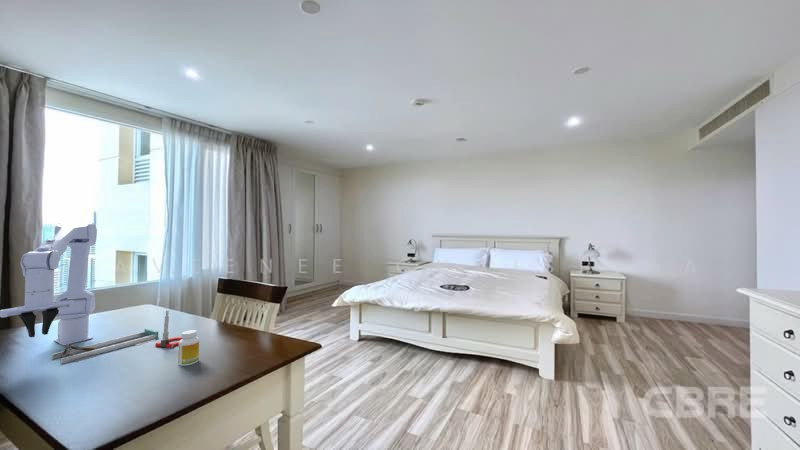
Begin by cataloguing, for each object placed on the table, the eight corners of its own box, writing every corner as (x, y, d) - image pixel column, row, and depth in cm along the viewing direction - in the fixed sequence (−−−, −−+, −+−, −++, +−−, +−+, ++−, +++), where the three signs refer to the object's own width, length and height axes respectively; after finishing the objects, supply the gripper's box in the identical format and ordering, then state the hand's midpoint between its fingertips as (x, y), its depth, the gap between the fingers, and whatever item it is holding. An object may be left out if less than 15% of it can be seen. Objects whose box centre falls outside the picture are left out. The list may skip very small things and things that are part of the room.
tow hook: (175, 339, 119) (152, 347, 109) (177, 305, 119) (155, 310, 110) (194, 340, 117) (173, 349, 108) (196, 306, 118) (175, 311, 109)
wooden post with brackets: (55, 356, 98) (64, 342, 100) (87, 359, 104) (95, 346, 105) (55, 358, 97) (64, 343, 99) (88, 361, 103) (96, 347, 104)
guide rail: (51, 358, 99) (51, 350, 99) (147, 334, 122) (147, 328, 122) (63, 365, 94) (64, 357, 94) (160, 338, 118) (160, 332, 118)
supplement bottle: (202, 360, 99) (203, 330, 99) (186, 367, 94) (187, 335, 94) (190, 358, 101) (191, 328, 101) (174, 364, 96) (174, 333, 96)
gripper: (5, 296, 85) (4, 345, 85) (78, 287, 98) (76, 330, 98) (-2, 293, 89) (-4, 341, 88) (69, 285, 102) (68, 327, 101)
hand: (38, 335), depth 94 cm, fingers closed
